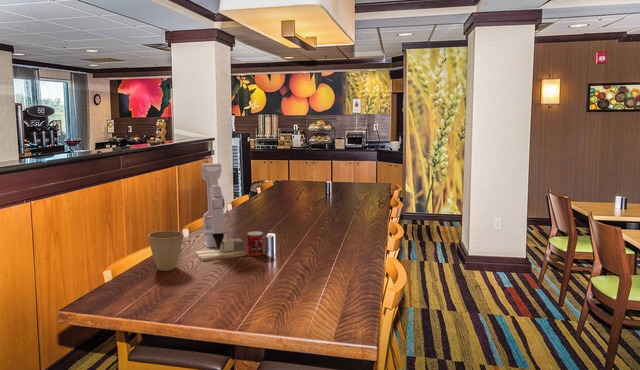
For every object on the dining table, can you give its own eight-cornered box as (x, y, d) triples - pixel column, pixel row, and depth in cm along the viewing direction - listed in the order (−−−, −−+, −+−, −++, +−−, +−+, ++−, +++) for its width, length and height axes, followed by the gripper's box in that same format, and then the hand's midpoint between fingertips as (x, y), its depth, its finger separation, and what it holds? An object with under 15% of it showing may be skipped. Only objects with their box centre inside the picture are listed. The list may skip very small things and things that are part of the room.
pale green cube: (219, 249, 250) (219, 239, 249) (231, 248, 253) (231, 238, 252) (222, 251, 246) (222, 241, 245) (234, 250, 248) (234, 240, 248)
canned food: (248, 257, 244) (248, 235, 243) (246, 252, 252) (246, 231, 250) (264, 255, 246) (264, 234, 245) (261, 251, 254) (261, 230, 252)
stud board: (194, 254, 249) (194, 241, 248) (236, 248, 259) (236, 236, 258) (202, 261, 237) (201, 248, 236) (245, 255, 247) (245, 242, 246)
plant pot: (148, 274, 216) (147, 239, 214) (150, 265, 230) (149, 231, 228) (184, 272, 220) (183, 237, 218) (184, 262, 234) (182, 229, 232)
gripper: (205, 224, 238) (206, 252, 240) (234, 221, 245) (234, 248, 247) (201, 221, 244) (202, 248, 246) (230, 219, 251) (230, 245, 253)
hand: (218, 248), depth 247 cm, fingers closed
